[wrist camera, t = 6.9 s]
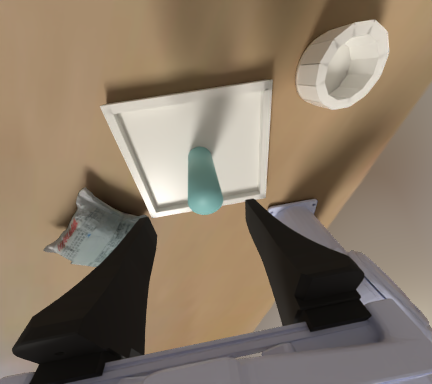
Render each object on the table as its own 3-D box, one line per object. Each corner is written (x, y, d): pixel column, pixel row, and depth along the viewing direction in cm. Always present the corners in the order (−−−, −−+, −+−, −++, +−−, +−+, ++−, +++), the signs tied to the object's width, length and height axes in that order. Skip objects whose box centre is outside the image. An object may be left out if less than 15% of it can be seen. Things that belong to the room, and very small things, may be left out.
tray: (261, 191, 25) (265, 197, 24) (153, 211, 25) (152, 218, 23) (266, 79, 17) (272, 79, 16) (106, 103, 17) (99, 106, 15)
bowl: (343, 99, 19) (370, 103, 16) (291, 107, 19) (310, 113, 16) (363, 26, 16) (402, 15, 13) (300, 35, 16) (326, 26, 13)
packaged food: (56, 234, 25) (31, 265, 21) (90, 178, 21) (67, 204, 17) (115, 253, 29) (104, 282, 25) (154, 210, 25) (148, 236, 21)
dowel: (212, 166, 21) (224, 211, 14) (190, 169, 21) (190, 216, 14) (210, 145, 20) (222, 183, 13) (186, 148, 19) (184, 189, 13)
